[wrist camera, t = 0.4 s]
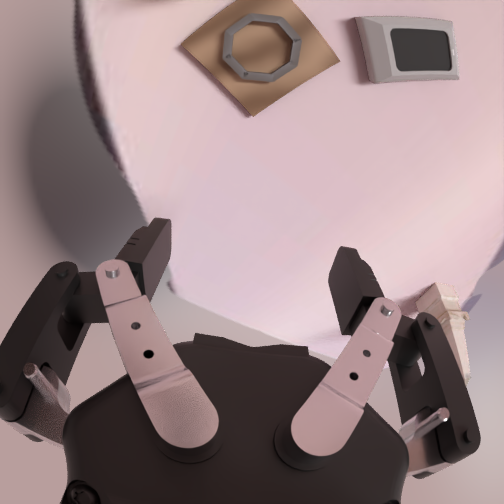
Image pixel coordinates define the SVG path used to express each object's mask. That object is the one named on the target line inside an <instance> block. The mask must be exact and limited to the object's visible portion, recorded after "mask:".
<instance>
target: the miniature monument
mask: <svg viewBox="0 0 504 504" xmlns="http://www.w3.org/2000/svg"><path fill="white" fill-rule="evenodd" d="M458 298H459V297H458V294H457V292H456V290H455V288H454V286H453V285H447V284H442V283H436V282H435V283H434V284H433V285H432V286H431V287H430V288H429V289H428V290H427V291H426V292H425V293H424V294H423V295H422V296H421V297H420V298H419V299H418V300H417V301H416V302H415V303H416V306H417V309H418V312H419V313H421V312H426V313H429V314H431V315H433V316H434V317H435V318H436V319H437V320H438V321H439V322H440V324H441V326H442V329H443V331H444V333H445V335H446V337H447V340H448V342H449V344H450V347H451V349H452V351H453V354H454V356H455V359H456V361H457V364H458V366H459V369H460V371H461V374H462V377H463V380H464V382H465V385H466V386H467V384H468V382H469V380H470V368H469V360H468V353H467V347H466V341H465V336H464V328H465V326H464V323H465V321H464V319H465V320H469V319H470V318H469V316H468V313H467V312H462V310H461V308H460V306H459V303H458Z"/></svg>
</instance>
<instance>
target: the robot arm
mask: <svg viewBox="0 0 504 504" xmlns="http://www.w3.org/2000/svg"><path fill="white" fill-rule="evenodd" d="M170 255H171V220H170V219H163V218H154V219H153V221H152V222H151V223H150V225H149V226H148V227H144V226H143V227H141V228H140V229H138V230H136V231H135V232H134V233H133V235H132V236H131V238H130V239H129V240H128V241H127V244H125V245H124V247H123V248H122V250H121V251H120V252H119V254H118V255H117V257H116V258H115V259H114V260H108V261H105V262H103V263H101V264H100V265H99V266H98V267H97V269H96V271H95V272H78V268H77V266H76V264H74V263H72V262H67V261H66V262H61V263H58V264H56V265H54V266H53V267H51V268H50V270H49V271H48V272H47V274H46V275H45V276H44V278H43V279H42V281H41V282H40V283H39V285H38V286H37V287H36V289H35V290H34V292H33V293H32V295H31V296H30V298H29V299H28V301H27V302H26V304H25V305H24V307H23V308H22V310H21V311H20V313H19V314H18V316H17V318H16V319H15V321H14V323H13V324H12V326H11V328H10V329H9V331H8V333H7V334H6V336H5V338H4V340H3V341H2V343H1V345H0V418H1V419H2V420H4V421H5V422H6V423H7V424H9V425H10V426H11V427H13V428H14V429H15V430H16V431H18V432H19V433H21V434H23V435H25V436H26V437H28V438H29V439H30V440H32V441H36V442H41V441H46V442H48V443H50V444H53V445H55V446H57V447H60V448H62V449H64V451H65V455H66V462H67V471H68V480H67V487H66V490H65V493H64V495H63V497H62V500H61V502H60V504H401V493H402V488H403V484H404V481H405V478H406V477H407V476H411V475H412V476H413V477H415V478H417V479H422V478H425V477H427V476H429V475H431V474H434V473H436V472H438V471H440V470H443V469H444V468H447V467H449V466H450V465H452V464H454V463H456V462H458V461H460V460H462V459H464V458H466V457H467V456H469V455H471V454H473V453H474V452H475V451H476V450H477V449H478V447H479V445H480V439H481V437H480V431H479V427H478V424H477V420H476V417H475V413H474V410H473V406H472V403H471V400H470V397H469V394H468V391H467V388H466V385H465V382H464V380H463V377H462V374H461V371H460V369H459V366H458V364H457V361H456V359H455V356H454V354H453V351H452V349H451V347H450V344H449V342H448V340H447V337H446V335H445V333H444V331H443V329H442V326H441V324H440V322H439V321H438V320H437V319H436V318H435V317H434V316H433V315H431V314H429V313H426V312H421V313H419V314H418V315H417V317H416V318H415V319H412V318H409V317H406V316H403V315H402V313H401V310H400V308H399V306H398V305H397V304H396V303H395V302H393V301H392V300H390V299H387V298H385V297H384V294H383V292H382V290H381V288H380V286H379V284H378V282H377V281H376V277H375V275H374V273H373V271H372V269H371V267H370V266H369V265H368V264H367V263H366V262H365V261H364V260H361V258H360V256H359V254H358V252H357V250H356V249H355V248H349V247H343V246H341V247H340V248H339V249H338V252H337V254H336V257H335V260H334V262H333V265H332V268H331V270H330V273H329V279H328V283H329V287H330V291H331V295H332V298H333V302H334V306H335V310H336V314H337V318H338V321H339V325H340V330H341V334H342V335H351V339H350V341H349V342H348V344H347V345H346V347H345V348H344V350H343V351H342V353H341V354H340V356H339V357H338V359H337V360H336V362H335V363H334V364H333V366H332V367H331V366H329V365H328V364H327V363H325V362H324V361H322V360H320V359H318V358H316V357H313V356H310V355H309V352H308V347H307V346H294V345H283V344H282V345H281V344H280V345H271V346H262V347H250V346H247V345H243V344H241V343H237V342H235V341H232V340H229V339H226V338H224V337H216V336H211V335H204V334H198V333H195V336H194V340H193V341H187V342H181V343H177V344H174V345H172V344H171V342H170V340H169V338H168V337H167V335H166V333H165V331H164V329H163V327H162V325H161V324H160V322H159V320H158V318H157V316H156V314H155V312H154V310H153V308H152V306H151V304H150V302H151V299H152V297H153V295H154V293H155V290H156V288H157V286H158V284H159V281H160V279H161V277H162V275H163V273H164V270H165V268H166V266H167V264H168V262H169V259H170ZM91 323H109V325H110V328H111V331H112V334H113V337H114V340H115V343H116V345H117V348H118V351H119V353H120V356H121V359H122V361H123V364H124V367H125V369H126V371H127V374H126V375H124V376H123V377H121V378H119V379H118V380H116V381H115V382H113V383H112V384H110V385H109V386H108V387H106V388H104V389H103V390H101V391H99V392H98V393H96V394H95V395H93V396H92V397H90V398H88V399H87V400H85V401H84V402H82V403H81V404H79V405H78V406H77V407H75V408H74V409H73V410H72V411H71V412H70V410H69V407H70V394H69V391H68V389H67V388H66V387H65V385H66V383H67V380H68V377H69V375H70V372H71V369H72V367H73V364H74V362H75V359H76V357H77V354H78V352H79V349H80V347H81V345H82V343H83V340H84V338H85V336H86V334H87V331H88V329H89V327H90V325H91ZM421 356H422V359H423V362H424V366H425V372H424V375H423V376H422V375H421V372H420V369H419V366H418V363H417V361H418V360H419V359H420V357H421ZM386 361H388V363H389V367H390V371H391V376H392V380H393V384H394V388H395V393H396V397H397V402H398V407H399V412H400V417H401V423H402V426H401V428H400V430H399V434H398V433H397V432H396V431H395V430H394V429H393V428H392V427H391V426H390V425H389V424H387V422H386V421H385V420H384V419H383V418H382V417H381V416H380V415H379V414H378V413H377V412H376V411H375V410H374V409H373V408H372V407H371V406H370V405H369V404H368V403H367V400H368V398H369V396H370V394H371V392H372V391H373V389H374V387H375V385H376V382H377V380H378V378H379V376H380V374H381V372H382V370H383V368H384V365H385V363H386Z"/></svg>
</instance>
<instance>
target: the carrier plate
mask: <svg viewBox="0 0 504 504" xmlns="http://www.w3.org/2000/svg"><path fill="white" fill-rule="evenodd" d="M181 45H182V46H183V47H184V48H185V49H186V50H187V51H188V52H189V53H191V54H192V55H193V56H194V57H195V58H196V59H197V60H198V61H199V62H200V63H201V64H202V65H203V66H204V67H205V68H206V69H207V70H208V71H209V72H211V73H212V74H213V75H214V76H215V77H216V78H217V79H218V80H219V81H220V82H221V83H222V84H223V85H224V86H225V88H226V89H227V90H228V91H229V92H230V93H231V94H232V95H233V96H234V97H235V98H236V99H237V100H238V101H239V102H240V103H241V104H242V105H243V106H244V107H245V109H246V110H247V111H248V112H249V113H250V114H251V115H252V116H253V117H254V116H255V115H257V114H258V113H259V112H261V111H262V110H264V109H265V108H266V107H268V106H269V105H271V104H272V103H274V102H275V101H277V100H278V99H280V98H281V97H283V96H284V95H286V94H287V93H289V92H290V91H292V90H293V89H295V88H296V87H298V86H300V85H301V84H303V83H304V82H306V81H308V80H309V79H311V78H312V77H314V76H316V75H317V74H319V73H321V72H322V71H324V70H326V69H328V68H329V67H331V66H333V65H335V64H336V63H338V62H340V60H339V59H338V57H337V56H336V54H335V53H334V51H333V50H332V49H331V47H330V46H329V45H328V43H327V42H326V41H325V39H324V38H323V37H322V35H321V34H320V33H319V31H318V30H317V29H316V28H315V26H314V25H313V24H312V23H311V22H310V20H309V19H308V18H307V17H306V16H305V14H304V13H303V12H302V11H301V10H300V9H299V8H298V6H297V5H296V4H295V3H294V2H293V1H292V0H236V1H235V2H233V3H232V4H231V5H229V6H228V7H226V8H225V9H224V10H222V11H221V12H219V13H218V14H217V15H215V16H214V17H213V18H212V19H210V20H209V21H208V22H206V23H205V24H204V25H203V26H201V27H200V28H199V29H198V30H197V31H195V32H194V33H193V34H192V35H191V36H189V37H188V38H187V39H186V40H185V41H184V42H183V43H181Z"/></svg>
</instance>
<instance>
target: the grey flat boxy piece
mask: <svg viewBox="0 0 504 504" xmlns="http://www.w3.org/2000/svg"><path fill="white" fill-rule="evenodd" d="M355 20H356V24H357V28H358V31H359V35H360V39H361V43H362V47H363V52H364V56H365V61H366V66H367V71H368V76H369V81H371V82H373V83H375V84H377V83H386V82H398V81H414V80H459V66H458V56H457V47H456V40H455V33H454V28H453V22H452V21H447V20H440V19H431V18H421V17H404V16H366V17H355Z"/></svg>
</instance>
